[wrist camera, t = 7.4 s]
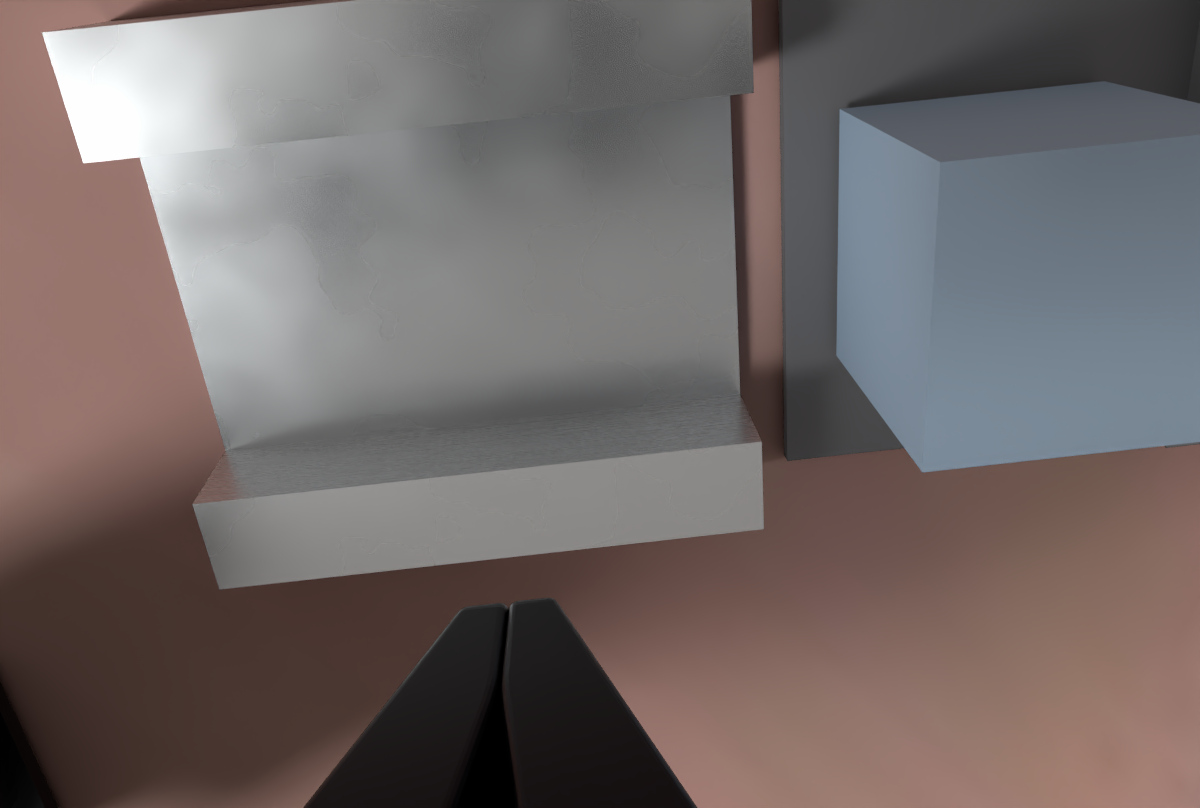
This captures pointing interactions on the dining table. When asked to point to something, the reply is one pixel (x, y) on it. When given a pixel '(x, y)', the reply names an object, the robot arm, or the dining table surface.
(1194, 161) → the block
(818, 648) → the dining table surface
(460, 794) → the robot arm
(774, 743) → the dining table surface
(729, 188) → the chute
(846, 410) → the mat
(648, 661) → the dining table surface
